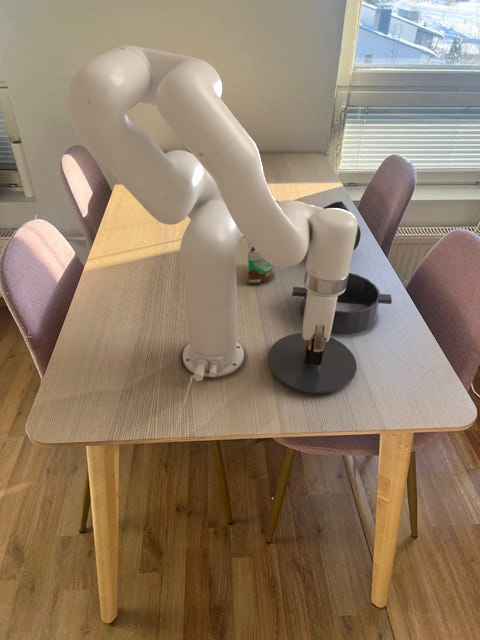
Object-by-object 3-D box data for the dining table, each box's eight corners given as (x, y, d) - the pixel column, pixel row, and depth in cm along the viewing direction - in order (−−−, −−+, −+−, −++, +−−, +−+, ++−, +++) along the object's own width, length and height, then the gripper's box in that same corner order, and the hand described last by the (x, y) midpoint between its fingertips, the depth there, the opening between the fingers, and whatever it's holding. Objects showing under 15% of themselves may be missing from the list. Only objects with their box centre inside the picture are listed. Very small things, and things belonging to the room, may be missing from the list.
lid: (357, 401, 96) (365, 371, 91) (263, 389, 97) (266, 359, 92) (353, 341, 110) (360, 313, 105) (271, 332, 111) (274, 303, 106)
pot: (390, 340, 112) (396, 316, 108) (289, 331, 114) (291, 307, 110) (383, 297, 125) (388, 275, 121) (293, 290, 127) (294, 268, 123)
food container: (271, 290, 127) (273, 255, 121) (247, 288, 128) (248, 252, 122) (278, 265, 136) (280, 231, 130) (255, 263, 137) (257, 229, 131)
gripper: (306, 253, 98) (296, 328, 109) (302, 302, 85) (291, 383, 96) (345, 257, 97) (331, 332, 108) (348, 307, 84) (332, 388, 95)
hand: (313, 355), depth 102 cm, fingers closed on lid, 3 cm apart
